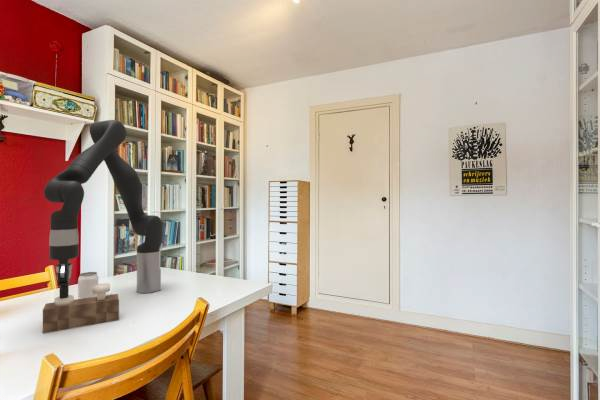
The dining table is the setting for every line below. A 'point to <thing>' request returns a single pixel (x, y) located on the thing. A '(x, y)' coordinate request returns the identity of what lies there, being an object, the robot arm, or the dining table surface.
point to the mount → (80, 313)
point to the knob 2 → (101, 290)
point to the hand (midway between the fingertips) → (64, 297)
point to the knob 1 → (64, 301)
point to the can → (87, 284)
